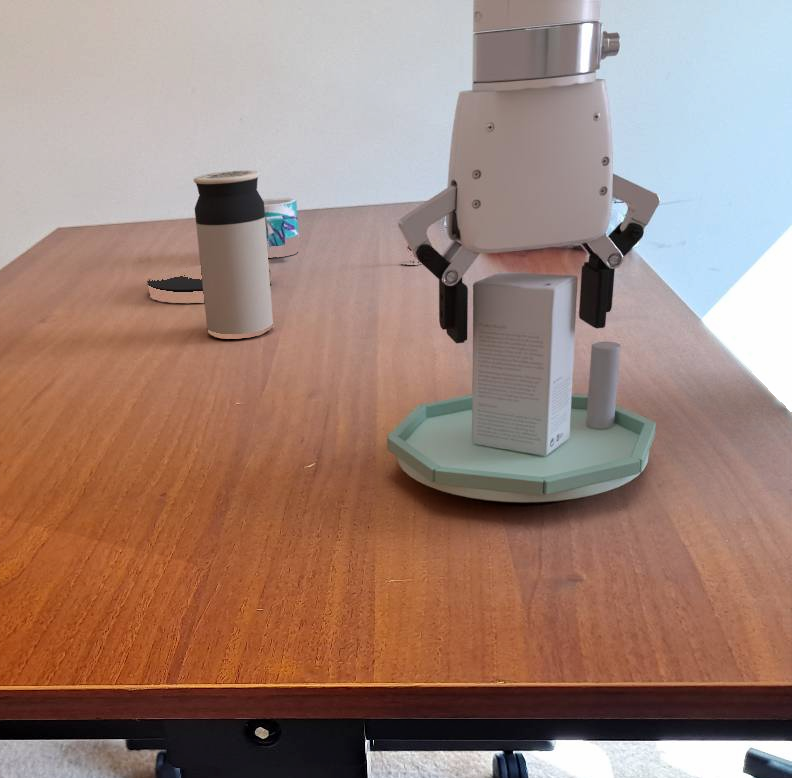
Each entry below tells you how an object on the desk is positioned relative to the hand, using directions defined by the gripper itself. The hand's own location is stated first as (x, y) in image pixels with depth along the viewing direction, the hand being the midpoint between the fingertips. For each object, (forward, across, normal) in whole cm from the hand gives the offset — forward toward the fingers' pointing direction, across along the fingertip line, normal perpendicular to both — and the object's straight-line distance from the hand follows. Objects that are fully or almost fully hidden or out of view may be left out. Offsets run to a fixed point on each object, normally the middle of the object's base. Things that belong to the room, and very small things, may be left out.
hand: (524, 331), depth 68 cm
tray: (+9, 0, 0) cm, 9 cm away
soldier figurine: (+11, -10, -80) cm, 82 cm away
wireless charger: (+11, +21, -76) cm, 80 cm away
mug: (+11, +10, -97) cm, 98 cm away
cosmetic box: (+8, 0, 0) cm, 8 cm away
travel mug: (+11, +18, -50) cm, 54 cm away
